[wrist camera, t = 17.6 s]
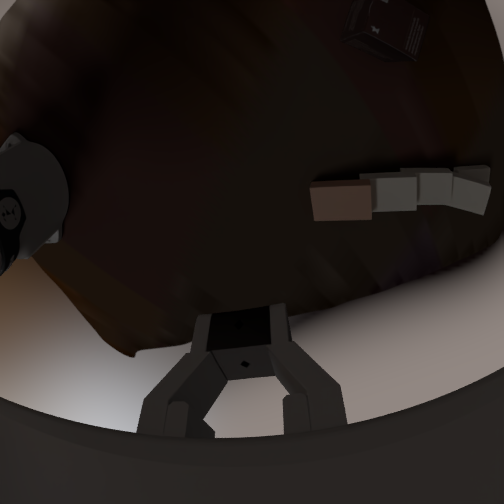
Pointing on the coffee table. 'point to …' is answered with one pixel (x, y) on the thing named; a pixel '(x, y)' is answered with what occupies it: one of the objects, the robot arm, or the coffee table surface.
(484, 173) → the domino
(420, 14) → the box
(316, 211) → the domino
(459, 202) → the domino
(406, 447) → the robot arm
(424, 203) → the domino
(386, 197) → the domino
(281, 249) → the coffee table surface
